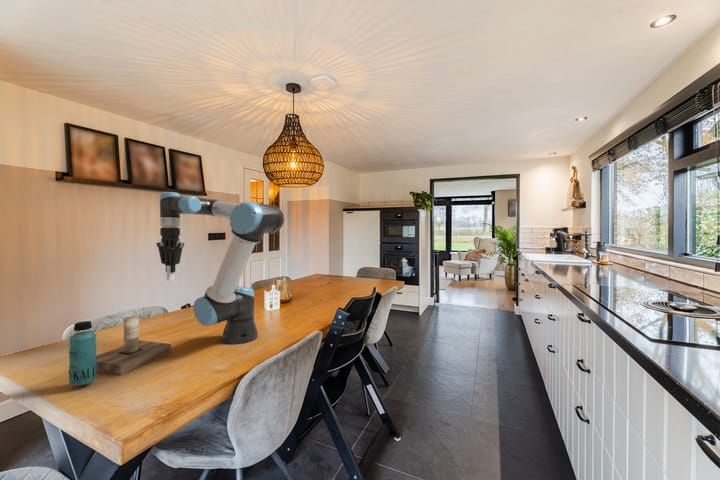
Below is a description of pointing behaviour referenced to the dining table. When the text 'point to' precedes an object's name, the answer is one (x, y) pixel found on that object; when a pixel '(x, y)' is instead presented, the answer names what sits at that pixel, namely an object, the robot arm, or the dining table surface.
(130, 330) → the peg
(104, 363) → the board
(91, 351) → the beverage bottle
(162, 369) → the dining table surface
